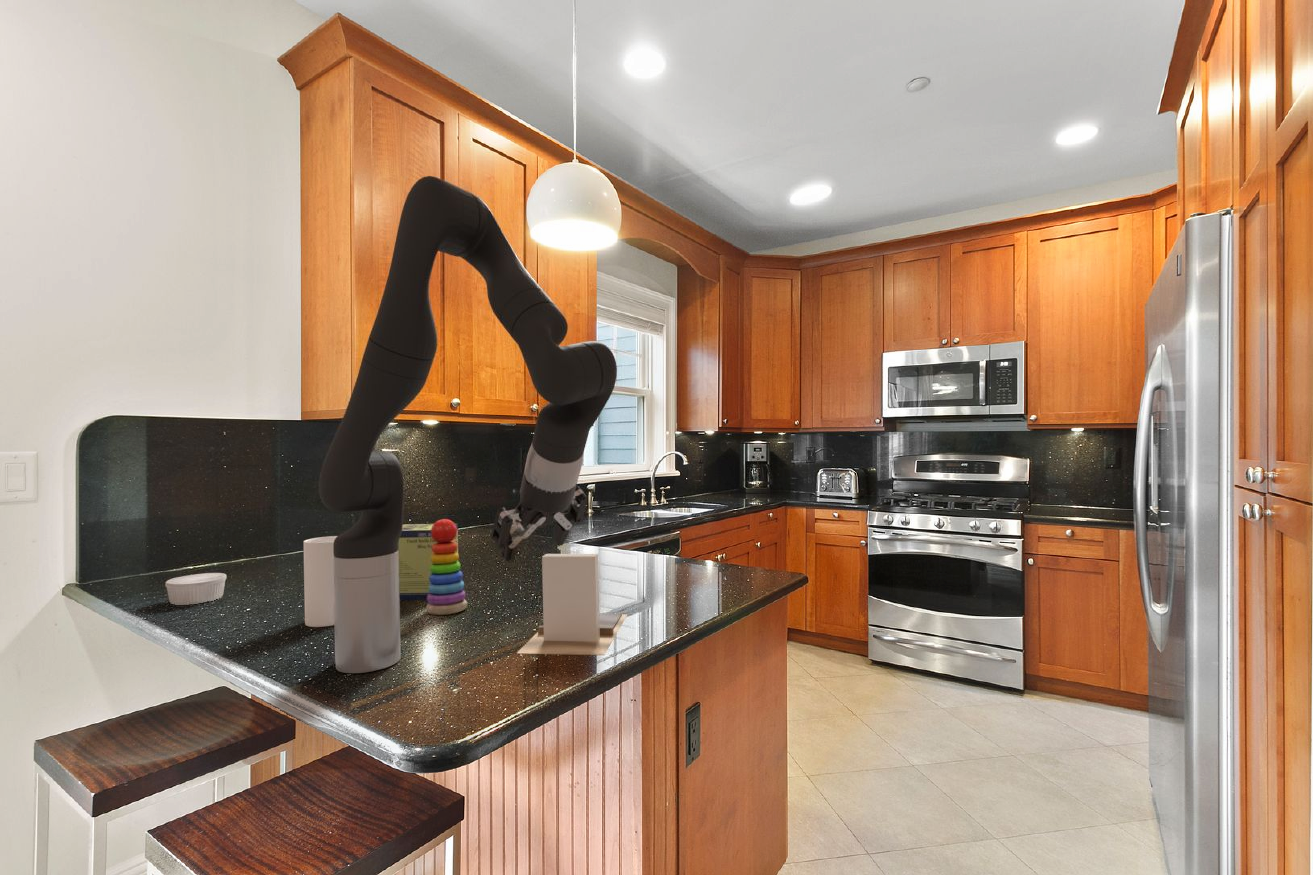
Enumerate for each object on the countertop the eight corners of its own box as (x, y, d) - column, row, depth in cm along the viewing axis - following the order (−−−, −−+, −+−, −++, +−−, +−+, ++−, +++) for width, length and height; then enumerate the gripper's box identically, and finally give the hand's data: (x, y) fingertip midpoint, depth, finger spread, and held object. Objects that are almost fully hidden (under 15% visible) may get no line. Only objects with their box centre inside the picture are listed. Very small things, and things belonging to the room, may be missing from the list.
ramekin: (202, 607, 133) (201, 583, 133) (151, 608, 133) (151, 584, 133) (238, 594, 144) (238, 572, 144) (192, 595, 144) (191, 573, 144)
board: (604, 661, 94) (603, 646, 94) (516, 659, 96) (516, 645, 96) (627, 619, 116) (627, 607, 116) (555, 618, 118) (555, 607, 118)
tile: (596, 641, 101) (595, 556, 101) (543, 640, 102) (542, 556, 102) (600, 635, 104) (598, 553, 104) (549, 634, 105) (547, 553, 105)
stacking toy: (473, 605, 129) (471, 516, 129) (457, 616, 121) (455, 521, 121) (437, 605, 130) (435, 517, 130) (419, 616, 122) (417, 522, 122)
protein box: (445, 599, 135) (444, 528, 135) (374, 601, 135) (373, 530, 135) (460, 587, 145) (458, 522, 146) (394, 589, 145) (393, 524, 145)
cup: (299, 621, 120) (298, 539, 120) (344, 612, 126) (342, 534, 126) (312, 629, 114) (310, 544, 114) (358, 620, 120) (356, 538, 120)
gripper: (580, 445, 92) (560, 521, 101) (492, 465, 83) (479, 547, 92) (608, 477, 87) (584, 553, 97) (518, 502, 79) (502, 583, 88)
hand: (533, 550), depth 94 cm, fingers open, 8 cm apart
